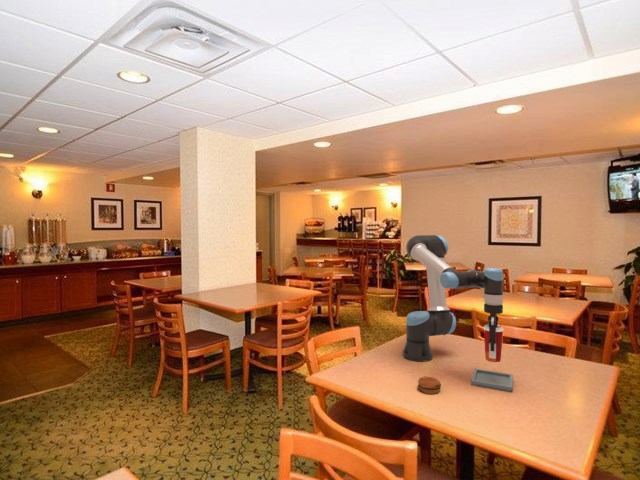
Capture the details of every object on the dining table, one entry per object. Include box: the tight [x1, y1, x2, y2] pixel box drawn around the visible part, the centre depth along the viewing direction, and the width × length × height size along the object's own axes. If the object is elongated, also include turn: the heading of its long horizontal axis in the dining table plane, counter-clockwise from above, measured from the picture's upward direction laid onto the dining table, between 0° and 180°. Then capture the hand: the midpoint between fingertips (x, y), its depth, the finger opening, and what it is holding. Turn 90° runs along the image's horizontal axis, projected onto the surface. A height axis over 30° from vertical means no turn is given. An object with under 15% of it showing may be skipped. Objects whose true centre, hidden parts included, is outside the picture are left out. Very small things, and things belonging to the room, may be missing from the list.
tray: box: [470, 368, 514, 393], centre depth 168 cm, size 16×16×2 cm
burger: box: [417, 376, 442, 395], centre depth 160 cm, size 10×9×5 cm
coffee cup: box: [483, 323, 504, 363], centre depth 168 cm, size 8×8×15 cm
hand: (492, 355), depth 168 cm, fingers closed on coffee cup, 7 cm apart
